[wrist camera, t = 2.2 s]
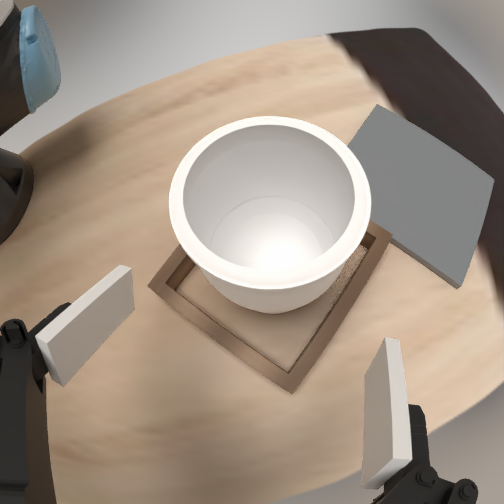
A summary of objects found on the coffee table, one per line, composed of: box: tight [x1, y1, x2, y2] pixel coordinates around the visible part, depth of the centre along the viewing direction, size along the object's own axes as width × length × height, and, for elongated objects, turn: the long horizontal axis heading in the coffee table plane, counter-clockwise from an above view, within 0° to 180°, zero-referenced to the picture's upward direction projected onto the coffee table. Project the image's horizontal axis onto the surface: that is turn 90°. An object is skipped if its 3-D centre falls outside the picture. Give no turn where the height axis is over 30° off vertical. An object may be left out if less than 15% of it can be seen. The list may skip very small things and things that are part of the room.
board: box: [347, 104, 494, 289], centre depth 31 cm, size 18×16×1 cm
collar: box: [148, 219, 393, 394], centre depth 28 cm, size 15×16×3 cm
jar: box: [169, 116, 371, 314], centre depth 23 cm, size 11×10×15 cm
